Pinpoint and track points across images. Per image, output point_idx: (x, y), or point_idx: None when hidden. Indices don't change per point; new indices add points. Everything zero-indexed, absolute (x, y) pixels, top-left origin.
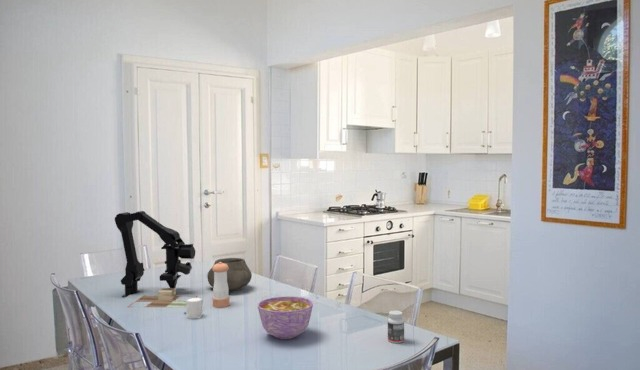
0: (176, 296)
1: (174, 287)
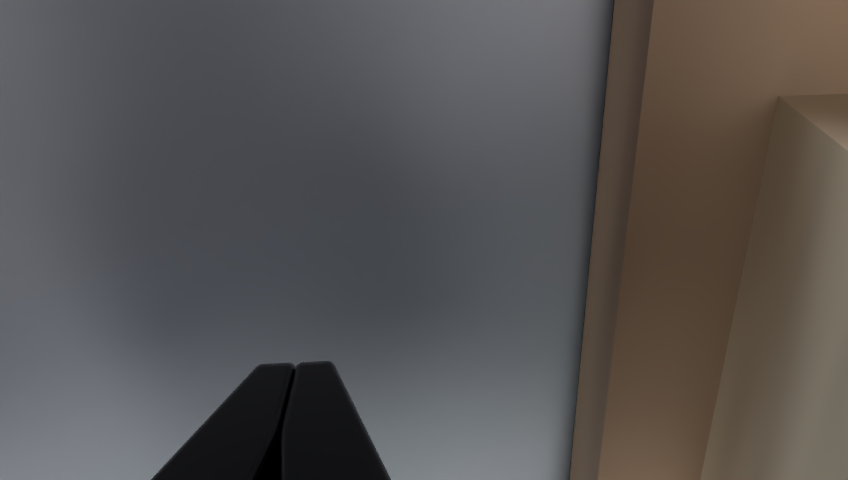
0: (744, 86)
1: (379, 465)
